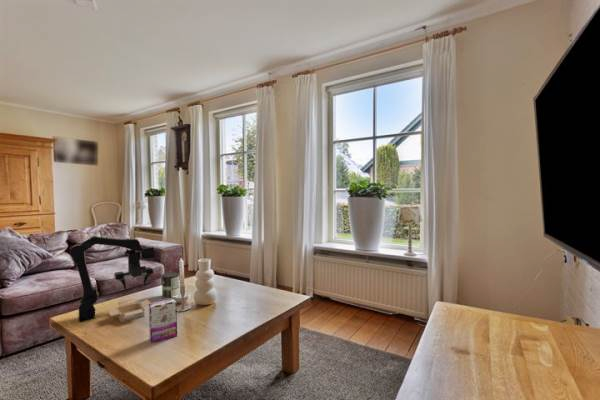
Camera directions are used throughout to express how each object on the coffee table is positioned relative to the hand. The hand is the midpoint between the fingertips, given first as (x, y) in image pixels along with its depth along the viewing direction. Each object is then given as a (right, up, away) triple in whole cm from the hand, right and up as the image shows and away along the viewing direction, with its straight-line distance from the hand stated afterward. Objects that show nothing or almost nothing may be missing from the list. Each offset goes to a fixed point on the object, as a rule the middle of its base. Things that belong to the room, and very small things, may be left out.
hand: (134, 288), depth 165 cm
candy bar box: (+31, -13, -32) cm, 47 cm away
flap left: (-1, -8, -5) cm, 9 cm away
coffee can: (+12, -12, +20) cm, 26 cm away
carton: (+3, -12, -12) cm, 17 cm away
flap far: (+7, -8, -5) cm, 12 cm away
